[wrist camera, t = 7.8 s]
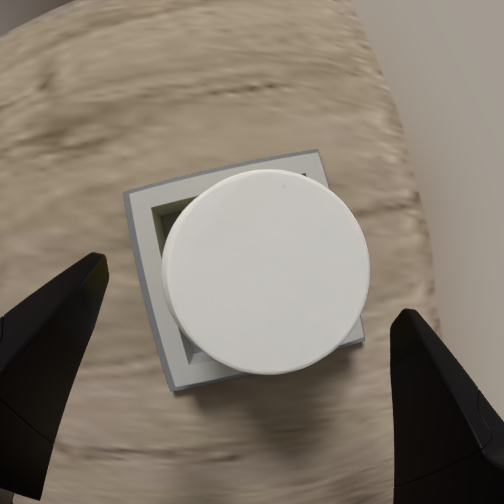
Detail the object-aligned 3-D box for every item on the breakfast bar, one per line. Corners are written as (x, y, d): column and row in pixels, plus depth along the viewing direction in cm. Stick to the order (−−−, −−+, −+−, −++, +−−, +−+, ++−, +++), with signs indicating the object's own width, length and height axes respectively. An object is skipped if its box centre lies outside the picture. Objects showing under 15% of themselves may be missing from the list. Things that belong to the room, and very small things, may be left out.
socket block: (361, 338, 19) (382, 348, 16) (171, 388, 18) (163, 407, 15) (315, 152, 19) (329, 133, 16) (125, 194, 18) (109, 181, 15)
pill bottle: (241, 194, 18) (263, 89, 7) (321, 268, 18) (440, 259, 7) (166, 275, 18) (80, 278, 7) (248, 349, 18) (280, 451, 7)
